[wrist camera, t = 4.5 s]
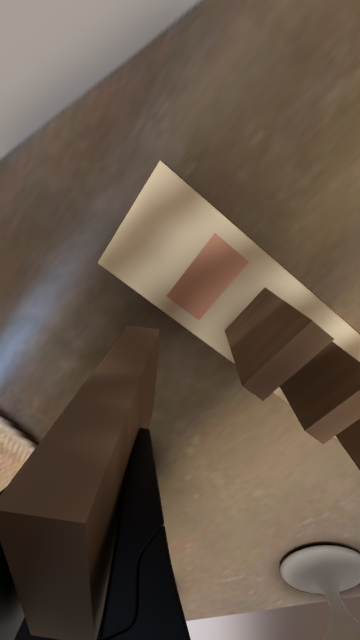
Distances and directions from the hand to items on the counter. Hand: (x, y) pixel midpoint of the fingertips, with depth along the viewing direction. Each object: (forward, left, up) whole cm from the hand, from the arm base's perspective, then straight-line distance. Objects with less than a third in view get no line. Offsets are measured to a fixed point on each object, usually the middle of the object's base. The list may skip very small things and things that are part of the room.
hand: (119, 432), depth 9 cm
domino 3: (-2, -12, -12) cm, 17 cm away
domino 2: (+1, -8, -12) cm, 14 cm away
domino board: (-1, -10, -13) cm, 17 cm away
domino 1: (0, 0, -4) cm, 4 cm away
